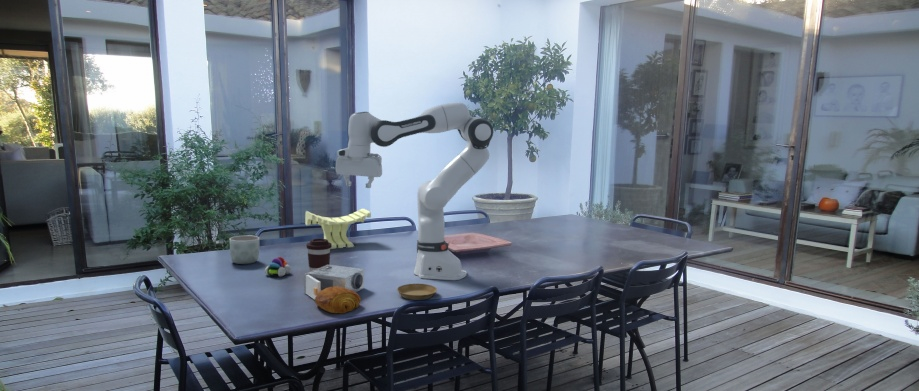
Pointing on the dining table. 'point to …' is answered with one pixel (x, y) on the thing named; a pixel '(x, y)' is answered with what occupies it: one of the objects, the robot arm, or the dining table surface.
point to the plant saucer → (417, 291)
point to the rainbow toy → (278, 267)
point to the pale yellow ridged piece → (337, 226)
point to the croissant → (337, 299)
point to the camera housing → (339, 277)
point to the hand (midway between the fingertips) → (358, 186)
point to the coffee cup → (318, 253)
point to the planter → (244, 249)
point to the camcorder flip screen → (311, 286)
